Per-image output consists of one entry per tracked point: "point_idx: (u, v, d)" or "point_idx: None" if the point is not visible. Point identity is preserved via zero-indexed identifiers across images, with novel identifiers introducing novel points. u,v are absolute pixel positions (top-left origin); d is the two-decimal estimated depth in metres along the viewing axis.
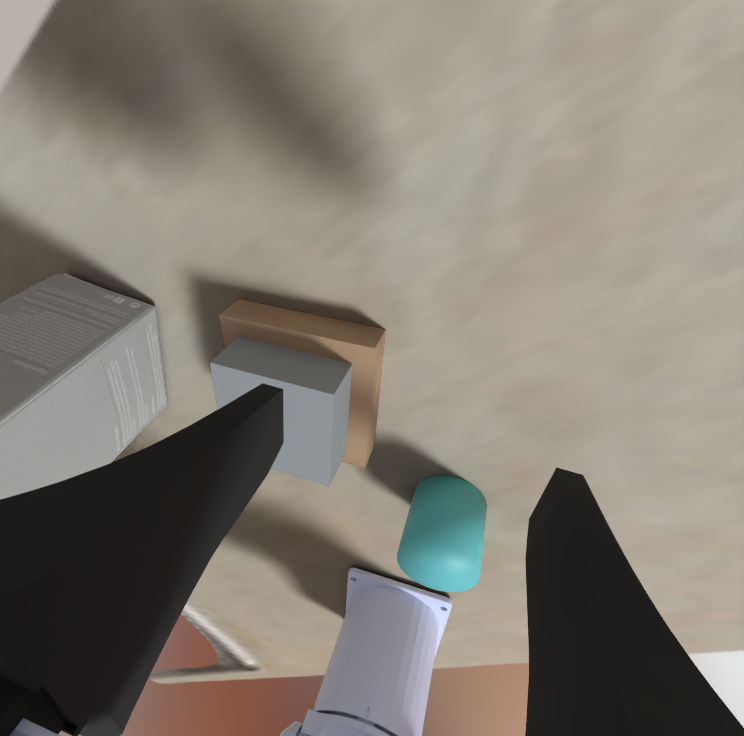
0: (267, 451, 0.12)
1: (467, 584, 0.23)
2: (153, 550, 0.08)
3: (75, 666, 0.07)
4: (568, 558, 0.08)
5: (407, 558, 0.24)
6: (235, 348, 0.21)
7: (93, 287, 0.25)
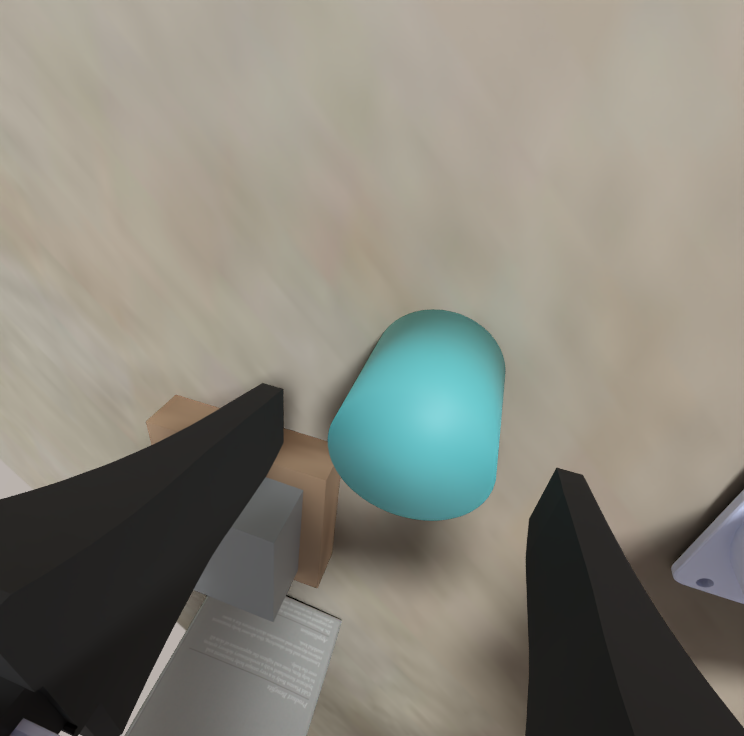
0: (267, 451, 0.12)
1: (450, 420, 0.10)
2: (153, 550, 0.08)
3: (75, 666, 0.07)
4: (568, 558, 0.08)
5: (400, 502, 0.12)
6: None
7: None
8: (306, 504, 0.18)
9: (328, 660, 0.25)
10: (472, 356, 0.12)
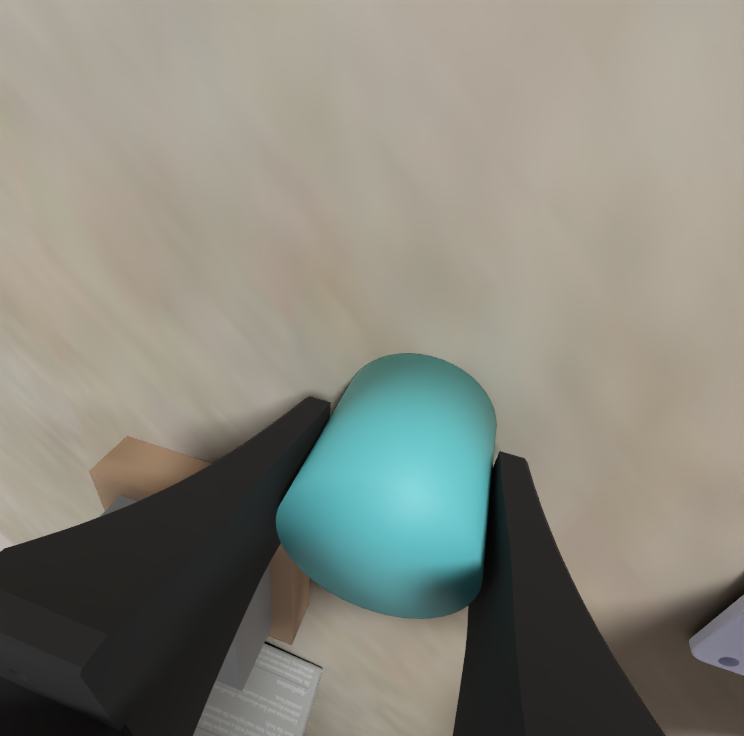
0: None
1: (423, 516, 0.08)
2: (219, 575, 0.08)
3: (152, 699, 0.06)
4: (499, 536, 0.09)
5: (368, 596, 0.10)
6: None
7: None
8: (272, 563, 0.16)
9: (306, 716, 0.22)
10: (454, 418, 0.10)
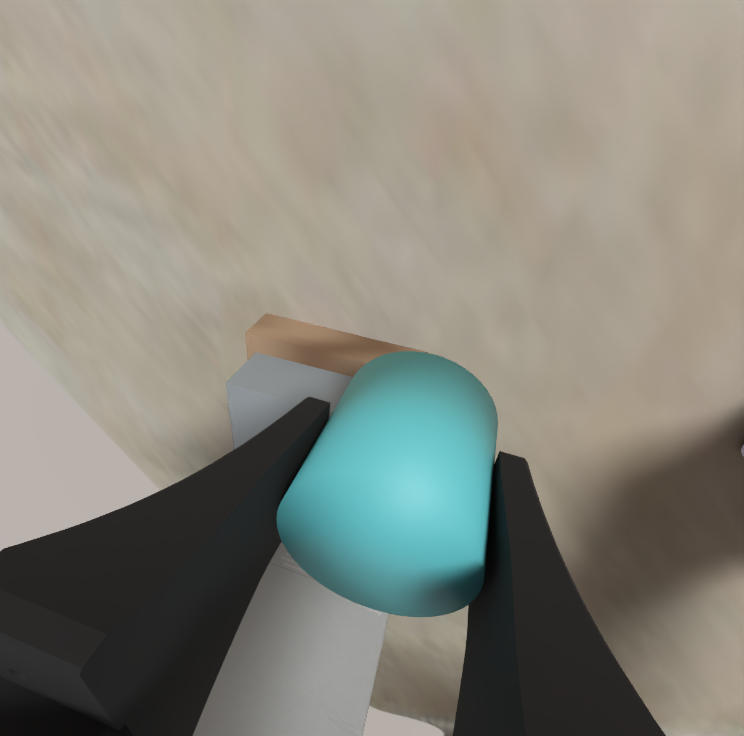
0: None
1: (425, 514, 0.08)
2: (219, 575, 0.08)
3: (151, 699, 0.06)
4: (499, 536, 0.09)
5: (368, 594, 0.10)
6: None
7: None
8: None
9: None
10: (457, 416, 0.10)
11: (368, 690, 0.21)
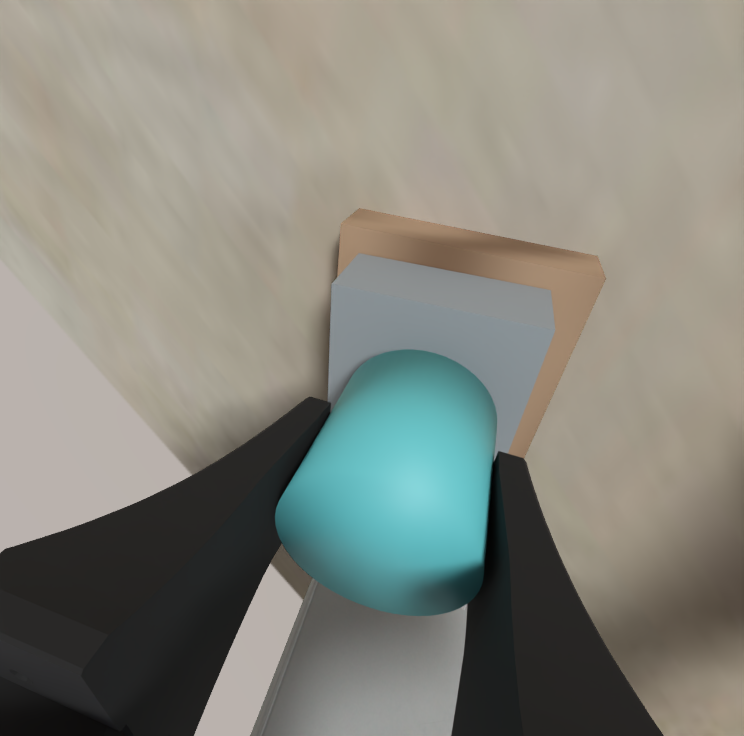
0: None
1: (426, 513, 0.08)
2: (220, 575, 0.08)
3: (152, 700, 0.06)
4: (497, 535, 0.09)
5: (366, 593, 0.10)
6: None
7: None
8: (556, 327, 0.14)
9: None
10: (457, 416, 0.10)
11: None
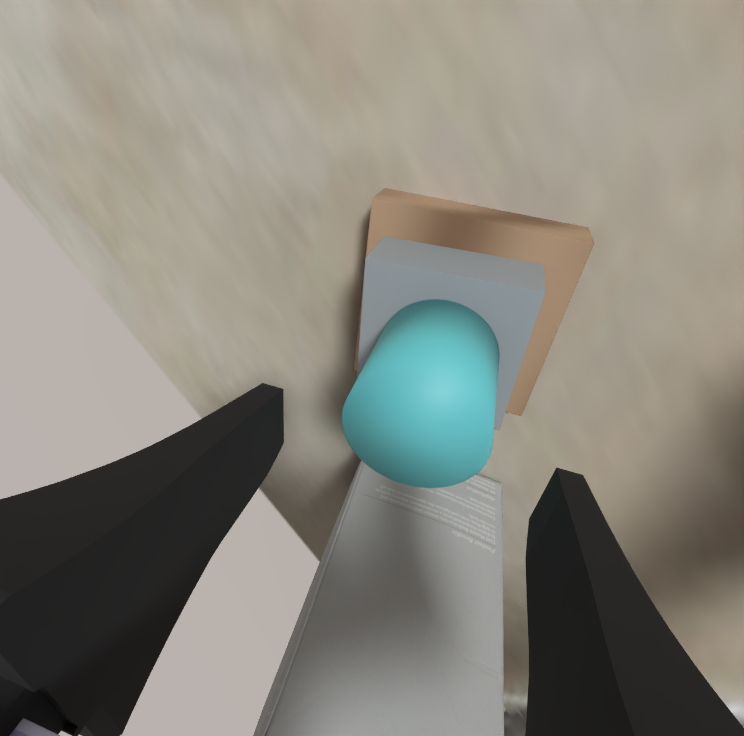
0: (267, 451, 0.12)
1: (453, 395, 0.12)
2: (153, 550, 0.08)
3: (75, 666, 0.07)
4: (568, 558, 0.08)
5: (406, 472, 0.14)
6: None
7: None
8: (552, 286, 0.16)
9: (501, 516, 0.23)
10: (471, 341, 0.13)
11: (499, 631, 0.18)
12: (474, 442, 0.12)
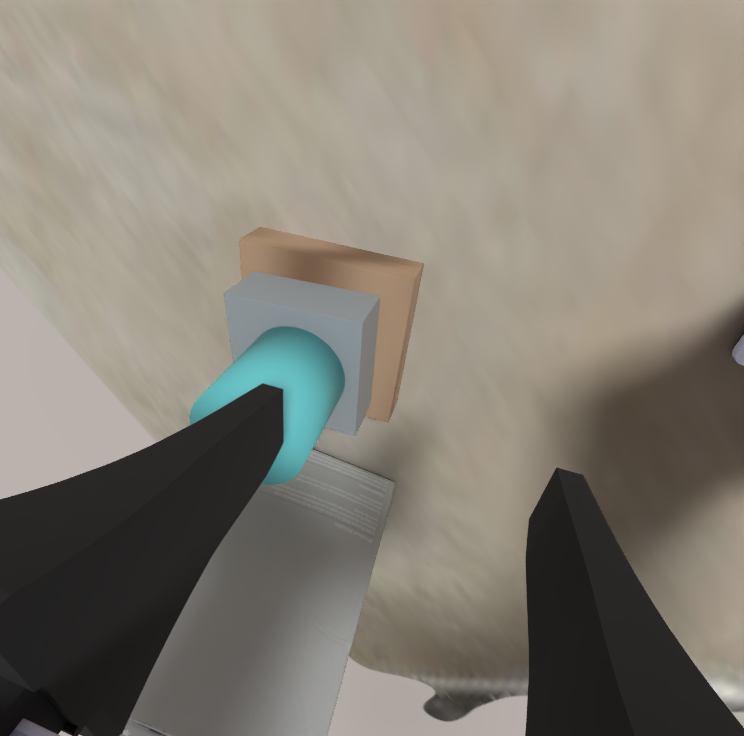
0: (267, 451, 0.12)
1: None
2: (153, 550, 0.08)
3: (75, 666, 0.07)
4: (568, 558, 0.08)
5: None
6: None
7: None
8: (390, 314, 0.19)
9: (387, 510, 0.26)
10: (302, 364, 0.16)
11: (357, 608, 0.21)
12: (290, 448, 0.15)
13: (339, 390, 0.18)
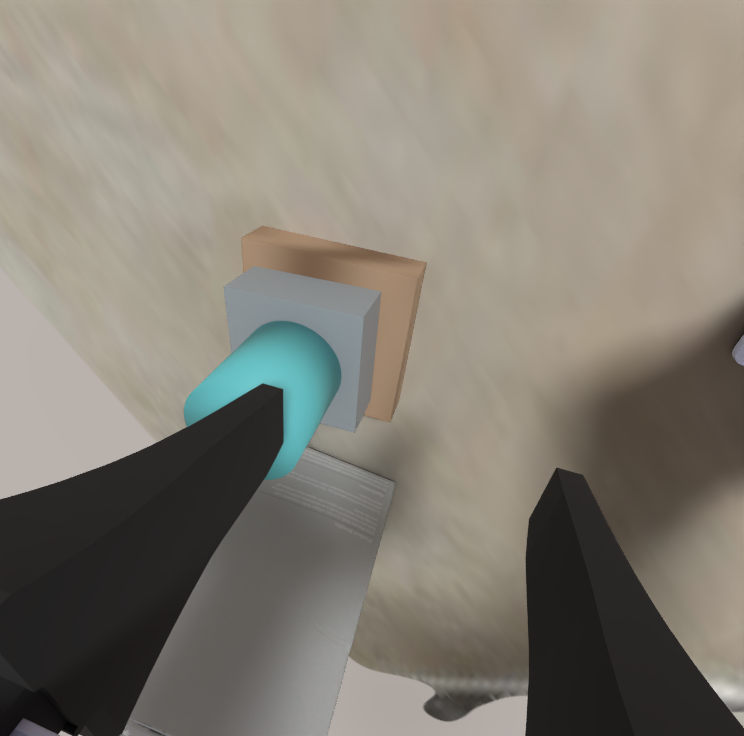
0: (267, 451, 0.12)
1: None
2: (153, 550, 0.08)
3: (75, 666, 0.07)
4: (568, 558, 0.08)
5: None
6: None
7: None
8: (393, 313, 0.19)
9: (387, 510, 0.26)
10: (295, 356, 0.16)
11: (357, 608, 0.21)
12: (285, 440, 0.15)
13: (335, 383, 0.18)
